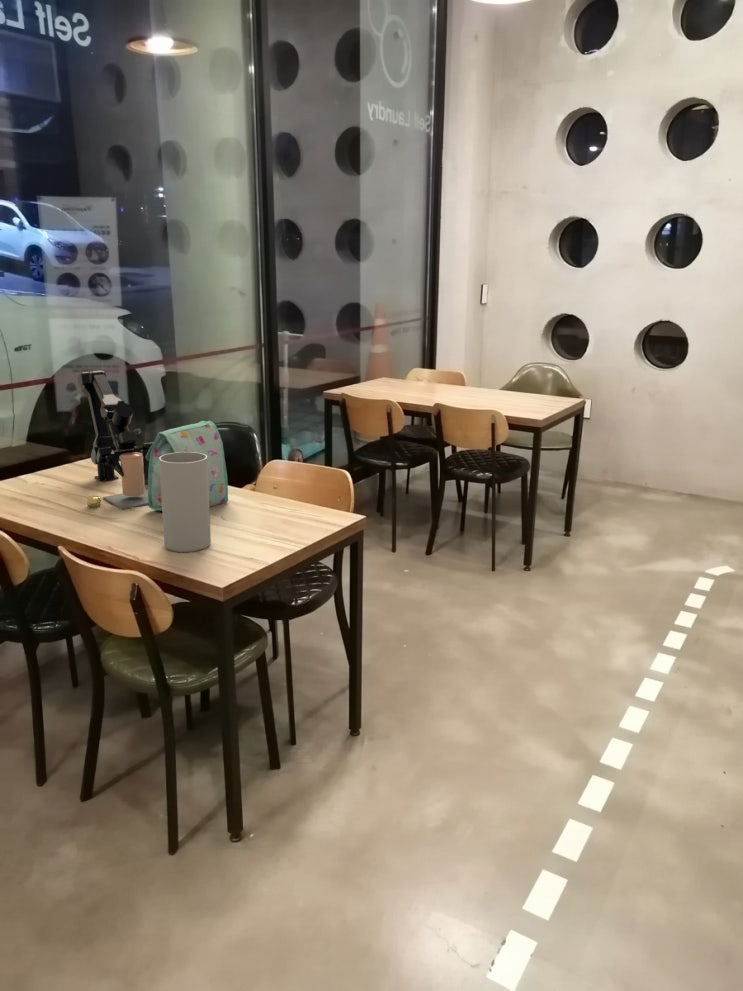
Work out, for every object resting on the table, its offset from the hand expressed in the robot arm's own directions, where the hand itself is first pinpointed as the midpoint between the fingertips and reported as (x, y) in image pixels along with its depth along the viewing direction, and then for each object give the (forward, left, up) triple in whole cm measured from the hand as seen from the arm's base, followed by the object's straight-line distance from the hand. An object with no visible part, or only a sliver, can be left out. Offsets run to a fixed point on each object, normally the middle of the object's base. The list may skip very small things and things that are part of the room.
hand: (134, 474), depth 249 cm
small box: (-18, +16, -9) cm, 26 cm away
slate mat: (-1, 0, -9) cm, 9 cm away
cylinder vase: (+48, -6, -9) cm, 49 cm away
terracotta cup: (-1, 0, -7) cm, 7 cm away
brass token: (-2, -13, -9) cm, 16 cm away
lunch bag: (+16, +11, -9) cm, 21 cm away
